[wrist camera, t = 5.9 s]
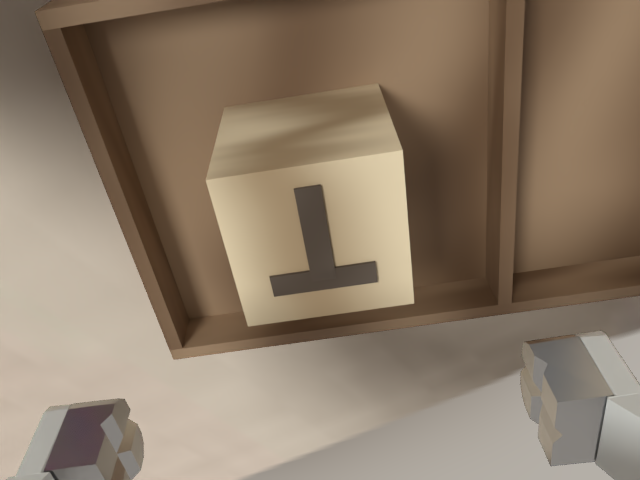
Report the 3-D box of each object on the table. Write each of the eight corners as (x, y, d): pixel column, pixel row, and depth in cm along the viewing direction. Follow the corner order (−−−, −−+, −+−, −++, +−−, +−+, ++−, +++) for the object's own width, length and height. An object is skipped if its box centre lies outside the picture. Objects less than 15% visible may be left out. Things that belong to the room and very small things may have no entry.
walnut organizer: (958, -158, 16) (1043, -159, 14) (810, 233, 23) (854, 265, 22) (61, -6, 17) (34, 11, 16) (182, 321, 25) (173, 359, 23)
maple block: (378, 83, 19) (403, 151, 15) (390, 215, 22) (414, 305, 17) (224, 107, 19) (204, 181, 15) (256, 235, 22) (247, 328, 18)
